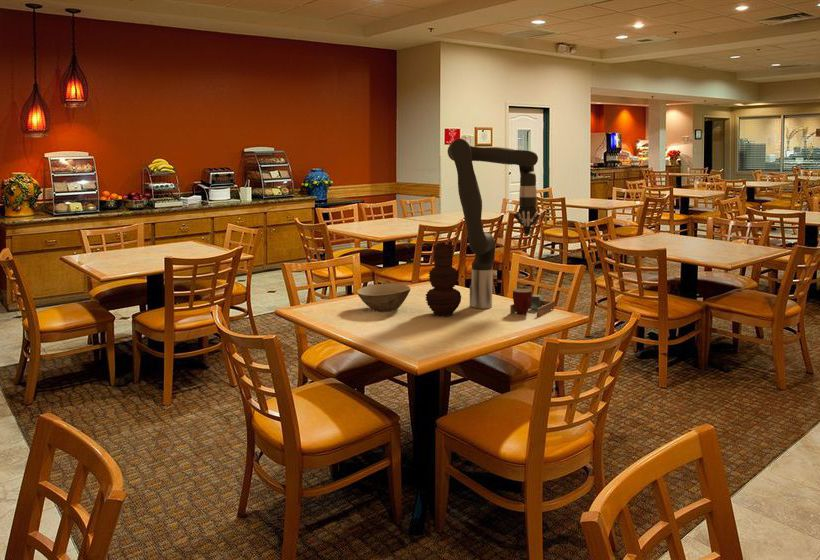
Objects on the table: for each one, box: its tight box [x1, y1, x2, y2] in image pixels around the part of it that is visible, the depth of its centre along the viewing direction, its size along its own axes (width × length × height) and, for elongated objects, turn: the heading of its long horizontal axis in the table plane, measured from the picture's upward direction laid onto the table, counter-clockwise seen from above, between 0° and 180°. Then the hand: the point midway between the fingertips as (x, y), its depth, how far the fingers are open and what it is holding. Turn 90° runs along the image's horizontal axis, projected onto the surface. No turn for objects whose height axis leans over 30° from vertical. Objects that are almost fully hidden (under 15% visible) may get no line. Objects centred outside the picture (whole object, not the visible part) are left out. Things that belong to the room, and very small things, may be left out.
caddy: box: [509, 299, 555, 318], centre depth 299 cm, size 13×17×4 cm
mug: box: [512, 288, 533, 315], centre depth 294 cm, size 11×8×10 cm
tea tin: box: [530, 294, 544, 311], centre depth 303 cm, size 4×4×6 cm
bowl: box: [356, 283, 411, 313], centre depth 304 cm, size 24×24×10 cm
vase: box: [424, 243, 462, 318], centre depth 292 cm, size 15×15×30 cm
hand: (527, 234), depth 312 cm, fingers closed
